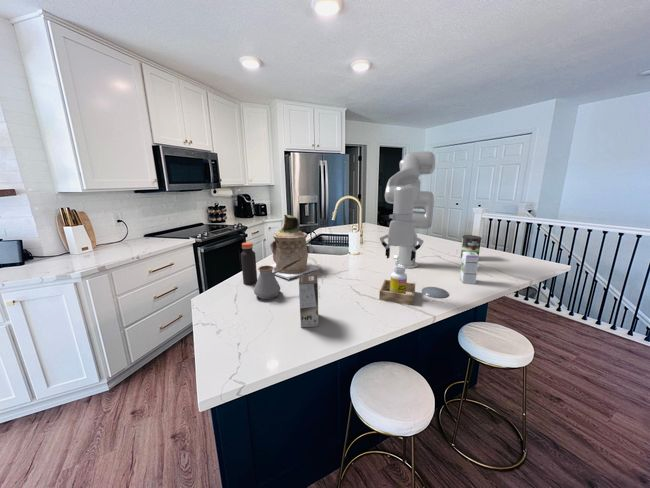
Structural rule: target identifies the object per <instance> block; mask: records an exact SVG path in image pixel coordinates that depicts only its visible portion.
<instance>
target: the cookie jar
mask: <svg viewBox="0 0 650 488" xmlns="http://www.w3.org/2000/svg"><path fill="white" fill-rule="evenodd" d="M298 226H299V219H298V217H296V216H293V215H290V214H286V213H285V214H284V221H283V226H282V228H280V229H279V230H278V231H275V232H274V233H273V239H274V240H272V241H271V243H270V244H269V247H270V250H271V252H272V258H273V262H274V263H273V264H270V265H268V266H273V269H272V273H273V272H275V271H277V270H279V269H281V268H283V267H284V266H286V265H288V264H290V263H292V262H294V261H297V260H299V259H300V261H298V262H296V263H294V264H293V265H292V266H290V267H288V268H285V269H283V270H281V271H279V272H278V273H276V274H274V276H277V277H279V278H283V279H286V280H287V281H290V279H293V278H296V277H300V275H306V274H309V273H311V272H315V271H318V270H320V268H321V266H320V265H317V264H312V263H308V259H309V258H308V257H309V251H308V245H307V237H308V234H307V233H306V232H303V231H301V230H299V229H298ZM300 262H301V263H300Z"/></svg>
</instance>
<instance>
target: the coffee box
mask: <svg viewBox="0 0 650 488" xmlns="http://www.w3.org/2000/svg"><path fill="white" fill-rule="evenodd" d="M298 277H299V278H298V288H299V291H298V292H299V294H298V295H299V313H300V316H299V317H300V328H310V327H311V328H312V327H313V328H314V327H316V328H317V327H318V326H319V283H318V277H317V274H316V273H312V274H311V273H310V274H309V273H305V274H303V275H300V276H298Z"/></svg>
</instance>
